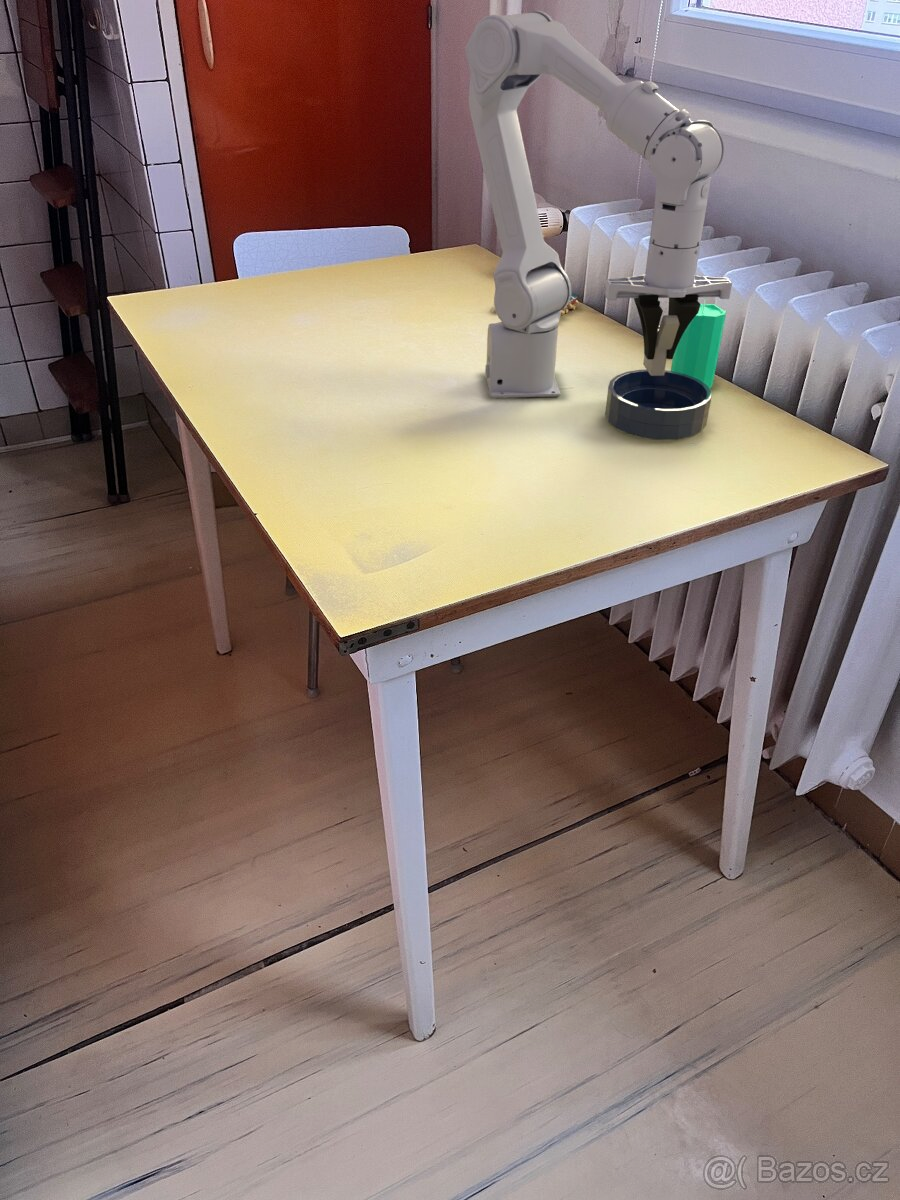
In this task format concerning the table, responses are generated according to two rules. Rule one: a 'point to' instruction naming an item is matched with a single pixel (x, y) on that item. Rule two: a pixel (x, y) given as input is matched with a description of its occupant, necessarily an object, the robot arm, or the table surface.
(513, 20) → the robot arm
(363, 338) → the table surface
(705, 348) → the candle
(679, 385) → the bowl
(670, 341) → the lighter
